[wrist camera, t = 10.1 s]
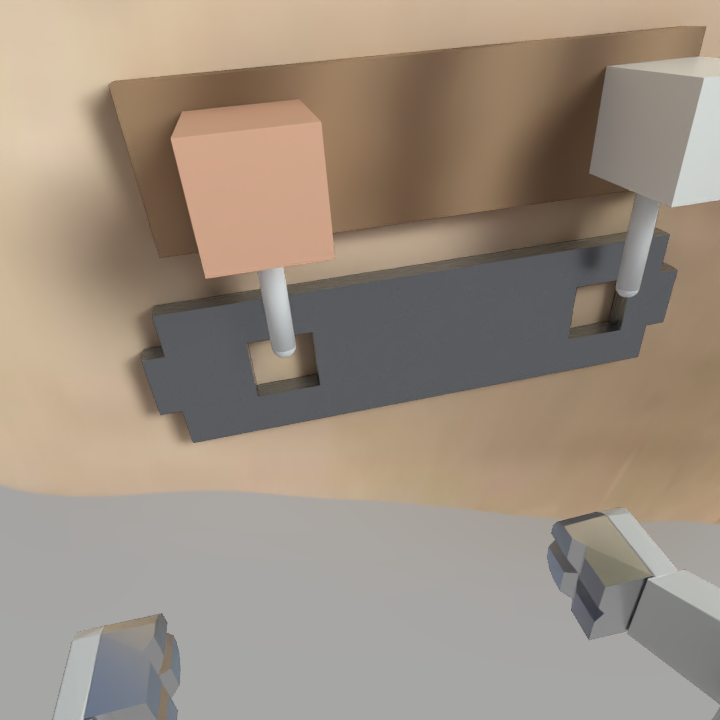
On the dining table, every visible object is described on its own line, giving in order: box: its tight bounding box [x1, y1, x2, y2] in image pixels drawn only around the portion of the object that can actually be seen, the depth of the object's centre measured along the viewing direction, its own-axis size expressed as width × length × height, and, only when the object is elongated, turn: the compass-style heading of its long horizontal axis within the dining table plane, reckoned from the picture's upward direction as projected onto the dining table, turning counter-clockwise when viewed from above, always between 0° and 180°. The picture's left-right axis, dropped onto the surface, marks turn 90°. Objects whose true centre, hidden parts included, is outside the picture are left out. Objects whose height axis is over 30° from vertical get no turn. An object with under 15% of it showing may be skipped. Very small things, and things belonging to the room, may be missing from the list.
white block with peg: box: [589, 56, 720, 297], centre depth 21 cm, size 4×10×5 cm, turn 4°
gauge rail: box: [108, 26, 706, 258], centre depth 21 cm, size 22×6×1 cm, turn 94°
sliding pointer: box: [171, 99, 335, 358], centre depth 19 cm, size 4×10×5 cm, turn 4°
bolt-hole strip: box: [141, 228, 678, 443], centre depth 26 cm, size 26×7×1 cm, turn 94°
